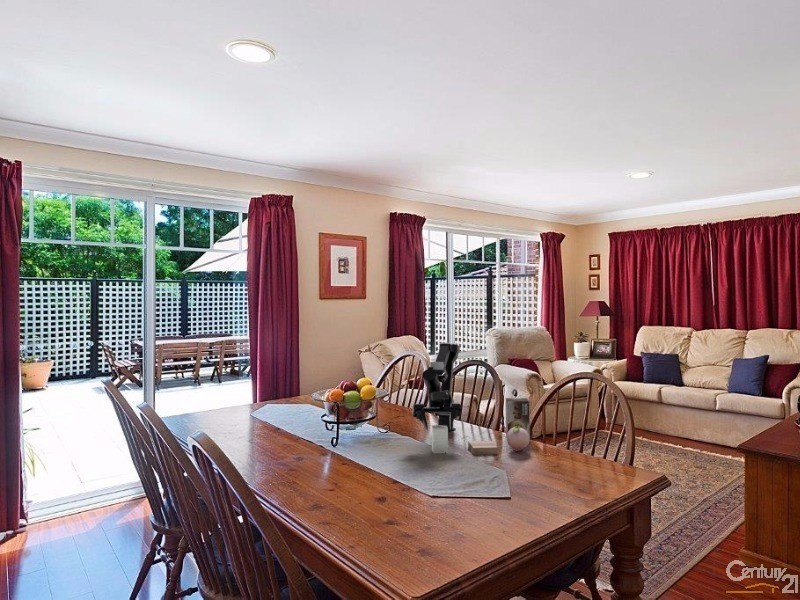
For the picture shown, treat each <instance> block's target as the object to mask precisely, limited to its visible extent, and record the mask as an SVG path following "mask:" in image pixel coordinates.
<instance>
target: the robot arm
mask: <svg viewBox="0 0 800 600" xmlns="http://www.w3.org/2000/svg"><path fill="white" fill-rule="evenodd" d="M438 347H439V350H438V351H437V352H438V353H437V356H436V359H435V361H434V363H433V364H431V365H430V366H428V368H427V369H425V370H424V371H423V372H422V374H421V376H422V380H423V382H424V385H425V387H426V390H427V399H428V406H425V405H424V403H414V404H413V405H412V410H411V411H412V417H413V418H416V420H418V421H419V422H421V424H422V425H423V427H424V428H425V430H426V431H428V421H427V417H426V414H427V413H434V414H435V415H434V416H435V417H438V421H437V423H438V424H437V425H446V426H447V427H448V433H450V432H451V431H455V430H456V427H454V421H455V419H457V418H458V417H460V416H461V414H462V413H461V412H462V411H463V410H462V409H463V407H462V404H461V403H460V402H459V403H458V402H457V403H455V400H454V398H453V396H452V387H453V386H452V385H453V374H454V365H455V362H456V361H457V359H458V357H459V354H460V351H461V349H460V345H459V344H458V343H457V342H441V343H439V346H438Z"/></svg>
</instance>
